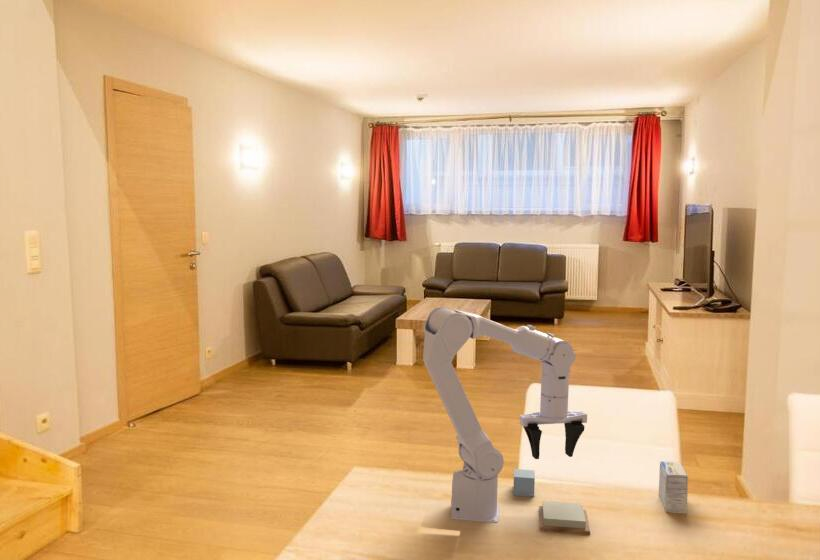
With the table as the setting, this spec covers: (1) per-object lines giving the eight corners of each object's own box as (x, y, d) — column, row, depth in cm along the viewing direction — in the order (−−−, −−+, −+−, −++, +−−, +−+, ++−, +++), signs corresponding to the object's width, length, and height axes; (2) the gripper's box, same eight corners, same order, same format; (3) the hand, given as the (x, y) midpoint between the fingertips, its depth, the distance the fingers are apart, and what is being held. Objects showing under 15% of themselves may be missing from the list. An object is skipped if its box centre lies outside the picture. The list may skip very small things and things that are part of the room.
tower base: (539, 534, 130) (540, 526, 130) (539, 512, 139) (539, 505, 139) (589, 538, 128) (590, 531, 128) (585, 516, 138) (585, 509, 138)
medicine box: (687, 516, 136) (689, 476, 135) (664, 514, 137) (666, 474, 136) (679, 500, 144) (681, 461, 143) (657, 498, 145) (659, 460, 144)
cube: (513, 496, 146) (513, 476, 145) (513, 488, 150) (514, 468, 150) (534, 498, 145) (534, 478, 144) (533, 489, 149) (534, 470, 149)
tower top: (543, 525, 130) (543, 518, 130) (542, 507, 138) (542, 500, 138) (585, 528, 129) (585, 521, 129) (581, 510, 137) (581, 503, 137)
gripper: (529, 401, 135) (527, 465, 136) (595, 397, 138) (592, 461, 139) (516, 392, 142) (515, 453, 143) (579, 389, 145) (577, 449, 146)
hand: (552, 456), depth 142 cm, fingers open, 7 cm apart
